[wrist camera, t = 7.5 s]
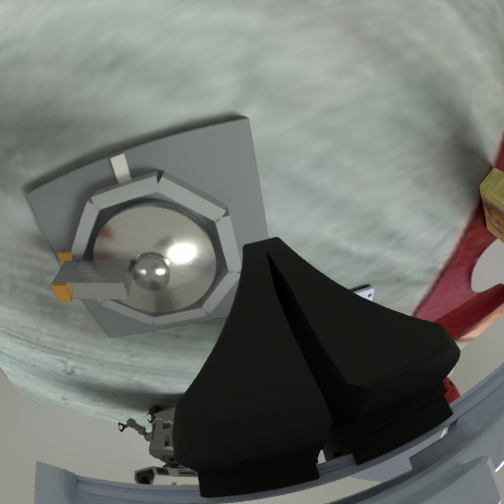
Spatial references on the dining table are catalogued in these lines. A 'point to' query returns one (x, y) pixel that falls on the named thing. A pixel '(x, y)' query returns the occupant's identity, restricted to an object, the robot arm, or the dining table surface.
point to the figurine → (161, 452)
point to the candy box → (494, 202)
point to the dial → (144, 260)
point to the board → (166, 189)
